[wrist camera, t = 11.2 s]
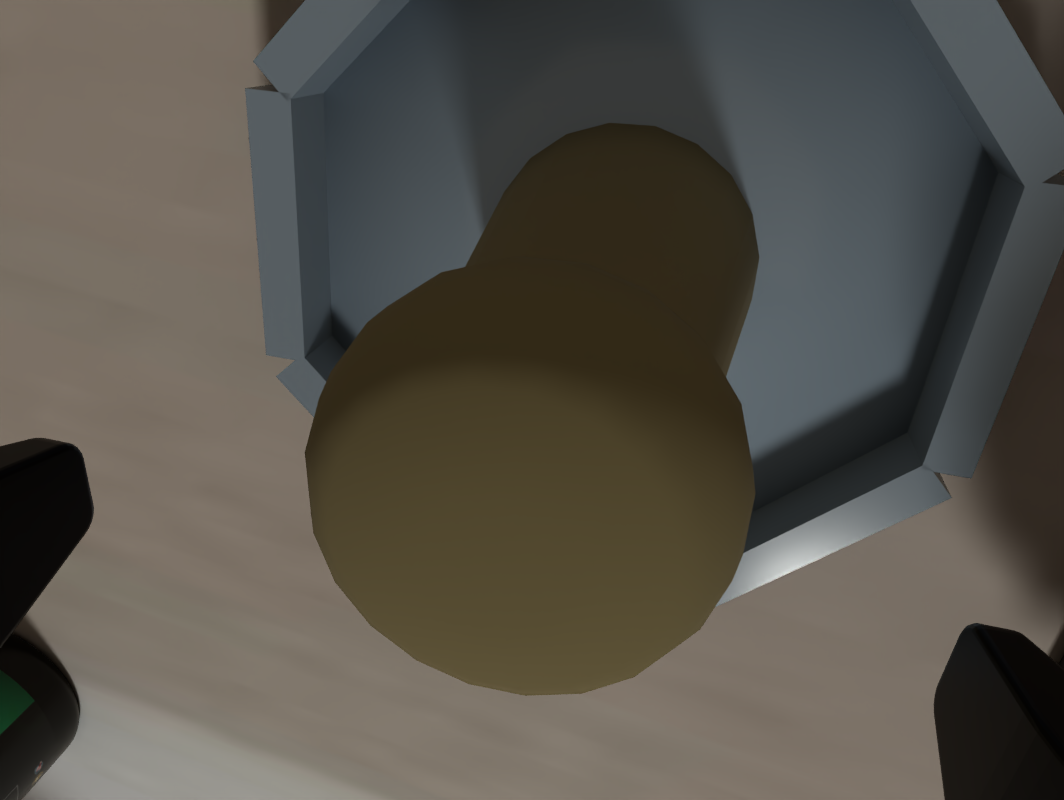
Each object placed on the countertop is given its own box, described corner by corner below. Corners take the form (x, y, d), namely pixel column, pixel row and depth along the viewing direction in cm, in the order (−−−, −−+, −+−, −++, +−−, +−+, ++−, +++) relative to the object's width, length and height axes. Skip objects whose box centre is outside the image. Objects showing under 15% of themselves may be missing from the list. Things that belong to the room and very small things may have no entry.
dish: (880, 587, 21) (899, 654, 19) (321, 476, 23) (279, 524, 21) (1146, -132, 13) (1229, -162, 11) (290, -183, 16) (221, -216, 14)
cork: (436, 245, 18) (112, 500, 8) (638, 55, 16) (500, 114, 6) (603, 431, 19) (483, 841, 10) (817, 284, 17) (947, 648, 7)
